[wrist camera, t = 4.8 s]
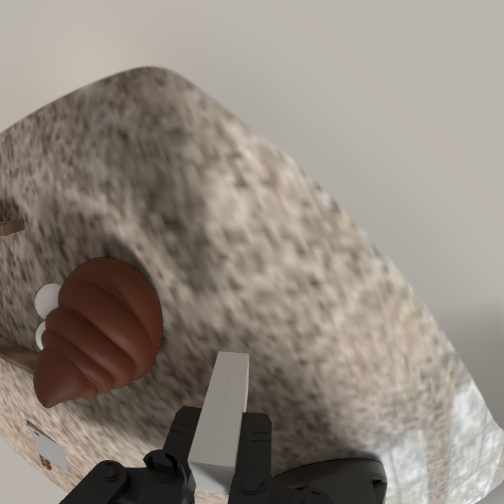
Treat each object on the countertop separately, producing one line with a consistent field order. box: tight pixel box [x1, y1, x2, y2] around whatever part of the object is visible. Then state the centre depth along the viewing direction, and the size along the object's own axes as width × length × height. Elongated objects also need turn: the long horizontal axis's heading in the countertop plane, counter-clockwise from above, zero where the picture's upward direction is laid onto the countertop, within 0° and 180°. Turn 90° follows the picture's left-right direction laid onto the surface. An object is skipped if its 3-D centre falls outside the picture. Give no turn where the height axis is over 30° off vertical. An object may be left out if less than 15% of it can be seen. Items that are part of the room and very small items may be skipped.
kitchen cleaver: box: [26, 423, 69, 472], centre depth 29 cm, size 24×1×10 cm
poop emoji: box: [33, 257, 163, 408], centre depth 14 cm, size 10×8×9 cm
